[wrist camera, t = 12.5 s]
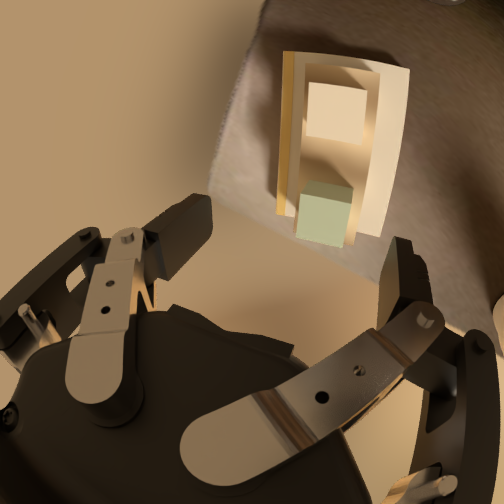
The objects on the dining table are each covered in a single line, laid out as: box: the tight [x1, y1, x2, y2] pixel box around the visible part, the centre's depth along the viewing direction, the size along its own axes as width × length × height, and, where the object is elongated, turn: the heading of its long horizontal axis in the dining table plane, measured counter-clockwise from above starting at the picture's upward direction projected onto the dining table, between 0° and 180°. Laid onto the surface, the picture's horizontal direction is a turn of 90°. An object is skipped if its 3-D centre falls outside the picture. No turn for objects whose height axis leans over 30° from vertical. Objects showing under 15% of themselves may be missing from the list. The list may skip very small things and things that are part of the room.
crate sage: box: [296, 180, 354, 248], centre depth 23 cm, size 4×4×4 cm
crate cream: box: [306, 82, 367, 145], centre depth 18 cm, size 4×4×4 cm
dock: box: [276, 51, 410, 237], centre depth 25 cm, size 18×12×3 cm, turn 179°
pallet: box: [293, 63, 380, 246], centre depth 23 cm, size 16×6×4 cm, turn 0°
